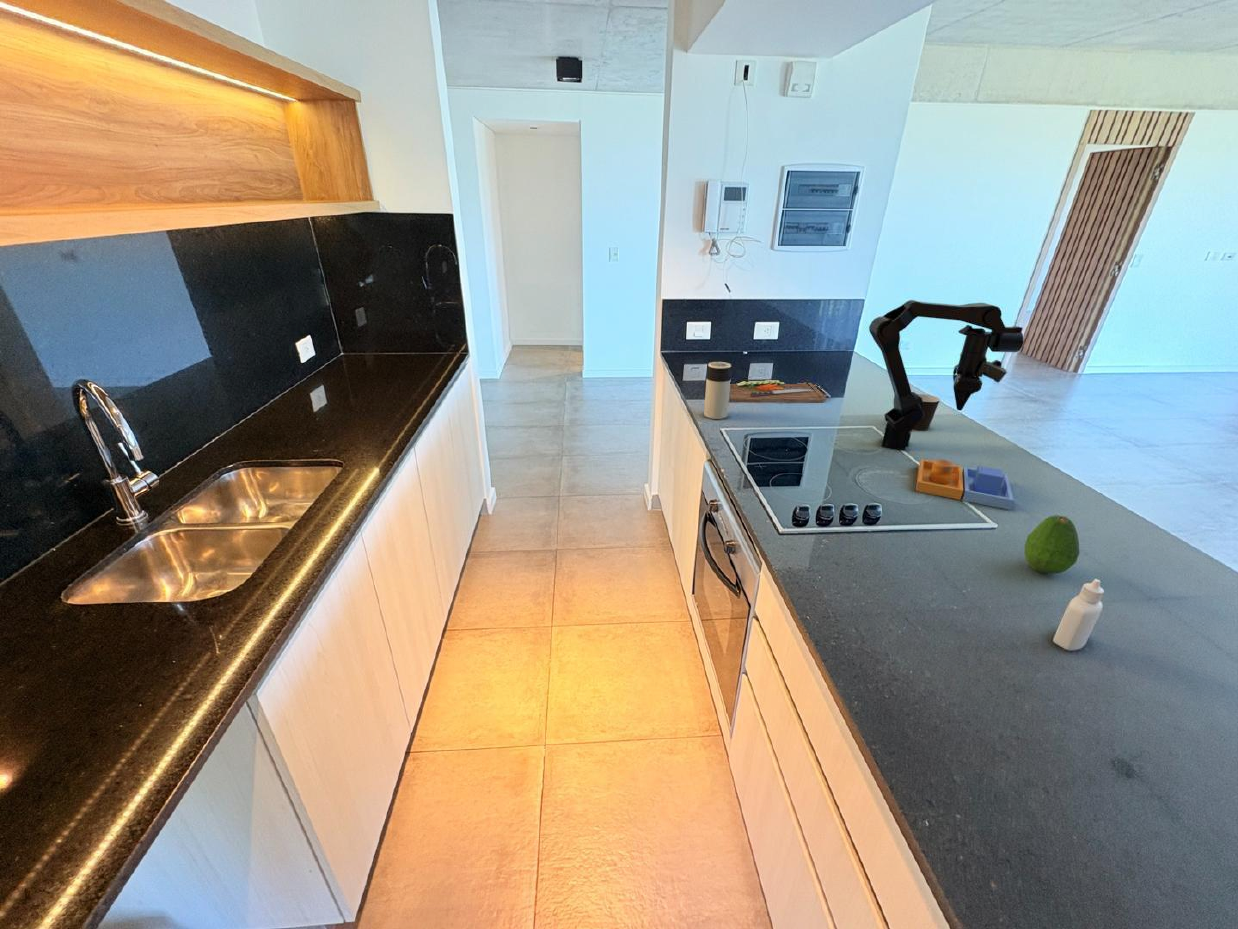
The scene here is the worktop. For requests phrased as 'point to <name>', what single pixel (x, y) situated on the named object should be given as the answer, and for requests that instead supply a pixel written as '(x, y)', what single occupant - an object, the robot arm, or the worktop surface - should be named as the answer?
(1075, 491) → the worktop surface
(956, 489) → the amber tray
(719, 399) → the travel mug
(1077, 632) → the eye dropper bottle
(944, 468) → the orange cylinder
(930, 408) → the coffee mug
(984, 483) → the blue block
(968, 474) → the blue tray
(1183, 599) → the worktop surface
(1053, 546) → the avocado
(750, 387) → the chopping board
